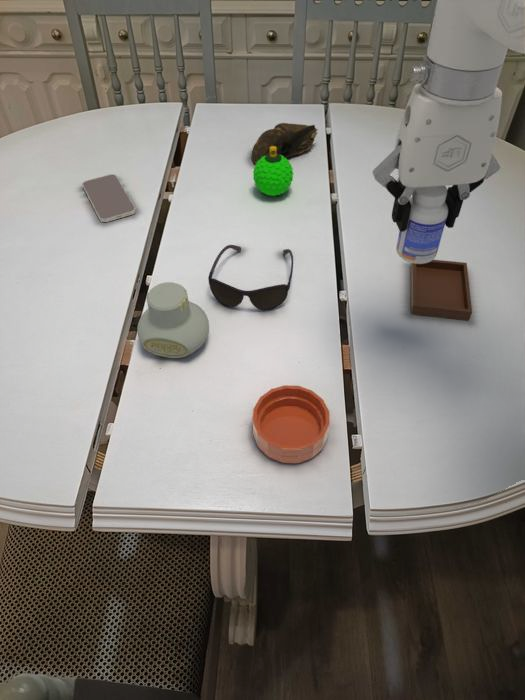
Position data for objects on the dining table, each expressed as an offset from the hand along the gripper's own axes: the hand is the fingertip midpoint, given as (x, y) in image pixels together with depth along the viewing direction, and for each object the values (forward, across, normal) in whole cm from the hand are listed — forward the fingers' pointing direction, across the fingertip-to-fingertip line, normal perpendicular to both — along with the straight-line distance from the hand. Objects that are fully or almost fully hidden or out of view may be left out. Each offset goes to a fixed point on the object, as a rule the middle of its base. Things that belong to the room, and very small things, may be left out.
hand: (423, 222), depth 68 cm
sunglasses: (+21, -21, +16) cm, 34 cm away
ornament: (+21, -14, +42) cm, 49 cm away
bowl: (+21, -19, -16) cm, 33 cm away
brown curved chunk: (+21, -10, +58) cm, 63 cm away
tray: (+21, +10, +9) cm, 25 cm away
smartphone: (+21, -48, +44) cm, 69 cm away
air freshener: (+21, -34, +3) cm, 41 cm away
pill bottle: (+5, 0, 0) cm, 5 cm away
